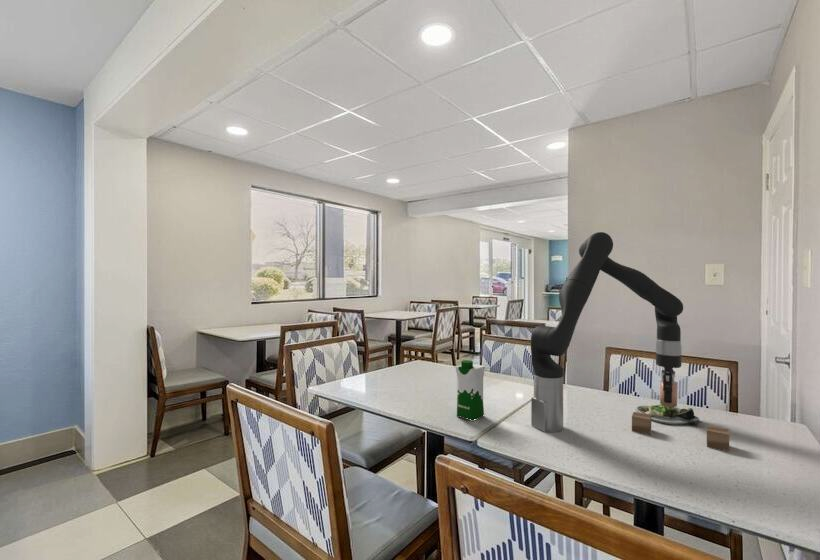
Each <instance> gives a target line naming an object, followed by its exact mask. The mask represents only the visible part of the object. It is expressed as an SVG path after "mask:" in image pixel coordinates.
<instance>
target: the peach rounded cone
mask: <svg viewBox="0 0 820 560" xmlns="http://www.w3.org/2000/svg"><path fill="white" fill-rule="evenodd" d="M665 388H670V386H667V385H666V386H665ZM672 390H673V392H672V403H665V402H664V391H663V384H662V379H661V380H660V381H659V405H660V404H661V405H664V406H669V407H678V382H677V381H675V380H674V386H672Z"/></svg>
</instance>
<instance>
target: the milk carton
mask: <svg viewBox="0 0 820 560" xmlns="http://www.w3.org/2000/svg"><path fill="white" fill-rule="evenodd" d="M485 369H486V366H485V365H480V364H476V363H474V362H473V360H468V359H465V360H464V359H463V360H461V364H460V365H459V364H458V365H456V366H455V373H456V397H457V398H456V400H457V401H456V403H457V404H456V417H457V416H461V417H464V418H468V419H471V420H474V419H477V418H479V417H481V416H483V415H484V416H485V411H484V409H485V408H484V376H485V371H486V370H485ZM484 416H483V417H484ZM481 418H482V417H481ZM479 419H480V418H479ZM477 420H478V419H477Z"/></svg>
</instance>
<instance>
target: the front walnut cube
mask: <svg viewBox="0 0 820 560" xmlns="http://www.w3.org/2000/svg"><path fill="white" fill-rule="evenodd" d="M708 447H709V449H713V448H715V449H714V450H718V449H720V451H723V450H725V451H724V452H728V451H729V452H730V431H729V429H728V428H725V427H720V426H713V425H708V424H706V448H708Z"/></svg>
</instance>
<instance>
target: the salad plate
mask: <svg viewBox="0 0 820 560" xmlns="http://www.w3.org/2000/svg"><path fill="white" fill-rule="evenodd" d="M635 410H636V412H639V413H644V414H647V412H648V414H650V415H651V421H653V422H658V423H660V424H665V425H677V424H684V425H685V426H687V425H686V424H689V425H691V426H693V425H696V424H701V423H702V421H700V418H699V417H698V416H696V415H695V411H694V409H693V407H689V408H679V407H678V406H676V407H669V406H664V405H661V404H660V403H659V404H656V405H653V404H652V405H637V406H636V408H635ZM645 412H646V413H645ZM692 424H693V425H692ZM689 425H688V426H689Z"/></svg>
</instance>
